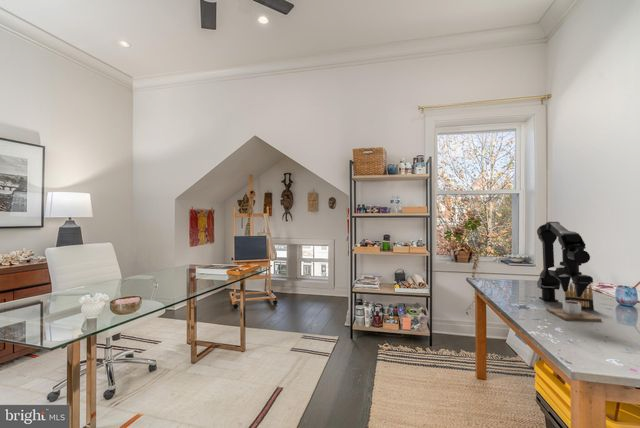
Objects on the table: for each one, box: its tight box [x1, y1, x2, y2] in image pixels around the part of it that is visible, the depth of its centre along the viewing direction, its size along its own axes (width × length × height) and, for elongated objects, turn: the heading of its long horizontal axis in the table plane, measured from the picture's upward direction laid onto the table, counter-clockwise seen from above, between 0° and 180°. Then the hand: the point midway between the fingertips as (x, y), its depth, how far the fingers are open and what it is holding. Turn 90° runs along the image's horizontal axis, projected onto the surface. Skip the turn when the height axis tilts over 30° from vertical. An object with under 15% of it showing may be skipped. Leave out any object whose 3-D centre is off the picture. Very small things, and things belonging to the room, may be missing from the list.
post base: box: [545, 303, 603, 323], centre depth 134 cm, size 14×14×6 cm
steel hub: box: [562, 299, 582, 316], centre depth 134 cm, size 6×6×5 cm
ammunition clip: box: [564, 283, 595, 311], centre depth 144 cm, size 11×2×12 cm, turn 55°
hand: (571, 294), depth 134 cm, fingers open, 9 cm apart
